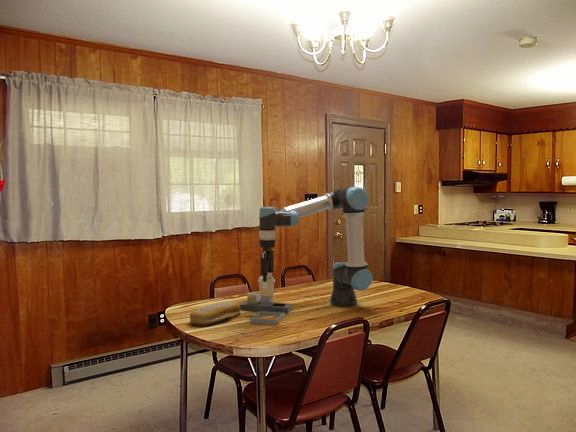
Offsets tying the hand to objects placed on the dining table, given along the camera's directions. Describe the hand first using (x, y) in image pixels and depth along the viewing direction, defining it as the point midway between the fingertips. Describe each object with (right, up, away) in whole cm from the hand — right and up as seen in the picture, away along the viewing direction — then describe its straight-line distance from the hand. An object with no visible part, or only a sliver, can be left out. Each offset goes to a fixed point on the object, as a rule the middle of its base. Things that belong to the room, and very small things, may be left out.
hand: (267, 287), depth 212 cm
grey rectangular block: (-8, -15, +19) cm, 25 cm away
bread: (-25, -17, +2) cm, 30 cm away
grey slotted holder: (-1, -16, +17) cm, 23 cm away
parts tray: (0, -16, +1) cm, 16 cm away
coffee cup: (-2, -15, +33) cm, 36 cm away
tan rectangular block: (0, -4, 0) cm, 4 cm away
